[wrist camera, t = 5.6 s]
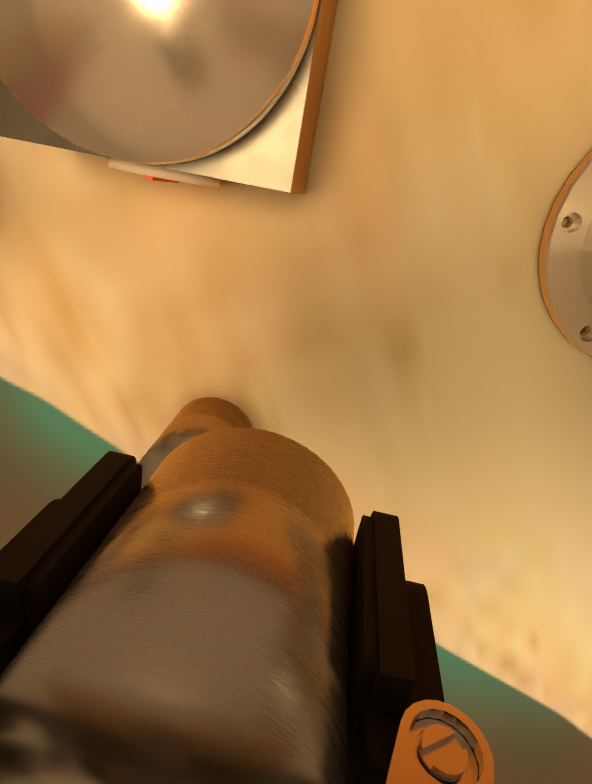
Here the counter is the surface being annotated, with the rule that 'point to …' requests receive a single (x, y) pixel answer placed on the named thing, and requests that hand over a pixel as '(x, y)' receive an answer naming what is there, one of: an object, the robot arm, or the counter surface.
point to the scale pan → (152, 70)
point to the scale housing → (247, 154)
